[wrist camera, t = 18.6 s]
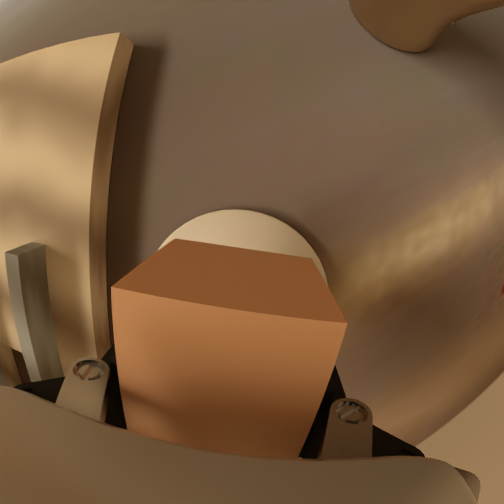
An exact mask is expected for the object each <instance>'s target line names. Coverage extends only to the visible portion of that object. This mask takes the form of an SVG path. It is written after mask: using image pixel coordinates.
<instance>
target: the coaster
mask: <svg viewBox="0 0 504 504" xmlns="http://www.w3.org/2000/svg"><path fill="white" fill-rule="evenodd" d="M175 238H177V239H184V240H190V241H197V242H204V243H211V244H218V245H225V246H232V247H238V248H245V249H252V250H259V251H266V252H273V253H279V254H286V255H293V256H300V257H306V258H312V259H313V261H314V263H315V265H316V266H317V268H318V270H319V272H320V273H321V275H322V277H323V279H324V281H325V282H326V284H327V286H328V282H327V278H326V275H325V271H324V269H323V267H322V264H321V262H320V260H319V258H318V257H317V255H316V253H315V252H314V250H313V249H312V247H311V246H310V245H309V243H308V242H307V241H306V240H305V239H304V237H303V236H301V235H300V234H299V233H298V232H297V231H296V230H295V229H294V228H292V227H291V226H289V225H288V224H287V223H285V222H283V221H281V220H279V219H278V218H276V217H274V216H271V215H268V214H265V213H263V212H259V211H254V210H249V209H222V210H217V211H212V212H209V213H206V214H203V215H200V216H198V217H196V218H194V219H192V220H190V221H188V222H187V223H185V224H184V225H182V226H181V227H179V228H178V229H177V230H175V231H174V232H173V233H172V234H171V235H170V236H169V237H168V238H167V239H166V240H165V241H164V243H163V244H162V245H161V246H160V248H159V249H158V250H160V249H161V248H162V247H164V246H165V245H166V244H168V243H169V242H171V241H172V240H173V239H175Z"/></svg>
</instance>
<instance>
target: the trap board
mask: <svg viewBox="0 0 504 504" xmlns="http://www.w3.org/2000/svg"><path fill="white" fill-rule="evenodd" d="M133 47H134V45H133V44H132V43H131V42H130V41H129V40H128V39H127V38H126V37H125V36H124V35H122V34H121V33H120V32H119V33H112V34H106V35H100V36H94V37H89V38H84V39H80V40H75V41H71V42H66V43H62V44H59V45H55V46H51V47H48V48H44V49H41V50H38V51H34V52H31V53H28V54H25V55H22V56H19V57H17V58H14V59H11V60H8V61H6V62H3V63H1V64H0V385H2V386H8V387H12V388H13V387H15V386H17V385H19V384H23V383H22V381H21V378H20V375H19V372H18V369H17V365H16V362H15V359H14V356H13V352H12V349H11V348H13V349H15V350H17V351H19V352H21V353H23V357H24V360H25V364H26V367H27V370H28V374H29V377H30V380H31V382H36V381H42V380H48V379H53V378H59V377H64V376H66V374H67V372H68V369H69V367H70V365H71V364H72V363H73V362H74V361H76V360H78V359H80V358H85V357H94V358H99V359H101V358H102V357H103V356H104V355H105V354H106V352H107V351H108V350H109V349H110V347H111V345H110V335H109V323H108V308H107V286H106V230H107V208H108V193H109V181H110V171H111V162H112V154H113V146H114V139H115V132H116V126H117V119H118V114H119V108H120V103H121V98H122V93H123V88H124V83H125V79H126V74H127V70H128V66H129V62H130V58H131V54H132V50H133Z"/></svg>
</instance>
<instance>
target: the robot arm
mask: <svg viewBox="0 0 504 504" xmlns="http://www.w3.org/2000/svg"><path fill="white" fill-rule="evenodd" d="M125 429H127V425H126V420H125V415H124V409H123V403H122V397H121V391H120V385H119V378H118V370H117V362H116V353H115V343H114V344H113V345H112V346H111V347H110V349H109V350H108V351H107V352H106V354H105V355H104V356H103V357H102V358H101V359H99V358H94V357H85V358H80V359H78V360H76V361H74V362H73V363H72V364H71V365H70V367H69V369H68V372H67V374H66V376H64V377H59V378H53V379H48V380H42V381H36V382H29V383H23V384H19V385H17V386H15V387H13V388H12V387H8V386H2V385H0V504H478V503H477V501H478V497H479V492H480V481H479V479H478V477H477V476H476V475H475V474H473V473H471V472H468V471H465V470H462V469H459V468H456V467H453V466H451V465H450V464H448V463H446V462H444V461H441V460H437V459H432V458H426V457H425V456H424V454H423V453H422V452H421V451H420V450H419V449H417V448H416V447H414V446H412V445H410V444H408V443H406V442H404V441H402V440H400V439H398V438H396V437H395V436H393V435H391V434H389V433H387V432H385V431H383V430H381V429H380V428H378V427H376V426H374V425H372V412H371V410H370V408H369V407H368V406H367V405H366V404H365V403H363V402H361V401H359V400H356V399H352V398H346V396H345V393H344V390H343V387H342V384H341V381H340V378H339V375H338V372H337V369H336V366H335V365H334V368H333V371H332V374H331V377H330V380H329V382H328V385H327V388H326V391H325V393H324V396H323V399H322V401H321V404H320V406H319V409H318V412H317V414H316V417H315V419H314V421H313V424H312V426H311V429H310V431H309V433H308V436H307V438H306V440H305V443H304V445H303V447H302V449H301V452H300V454H299V456H298V457H301V458H302V459H301V458H278V457H265V456H254V455H245V454H236V453H229V452H222V451H215V450H209V449H203V448H198V447H193V446H188V445H183V444H178V443H174V442H169V441H165V440H161V439H157V438H153V437H149V436H146V435H142V434H138V433H135V432H131V431H128V430H125Z"/></svg>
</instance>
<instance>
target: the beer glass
mask: <svg viewBox="0 0 504 504" xmlns="http://www.w3.org/2000/svg"><path fill="white" fill-rule="evenodd" d="M349 1H350V6H351V9H352V11H353V13H354V15H355V17H356V18H357V20H358V21H359V23H360V24H361V25H362V26H363V27H364V28H365V29H366V30H367V31H368V32H369V33H370V34H371V35H373V36H374V37H375V38H377V39H378V40H380V41H381V42H383V43H384V44H386V45H388V46H390V47H393V48H395V49H398V50H401V51H405V52H422V51H425V50H427V49H429V48H430V47H432V46H433V45H434V44H435V43H436V41H437V40H438V39H439V38H440V36H441V35H442V33H443V32H444V31H445V30H446V29H447V28H448V27H449V26H450V25H451V24H453V23H454V22H456V21H458V20H460V19H462V18H465V17H467V16H470V15H473V14H476V13H480V12H484V11H487V10H491V9H494V8H498V7H502V6H504V0H349Z"/></svg>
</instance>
